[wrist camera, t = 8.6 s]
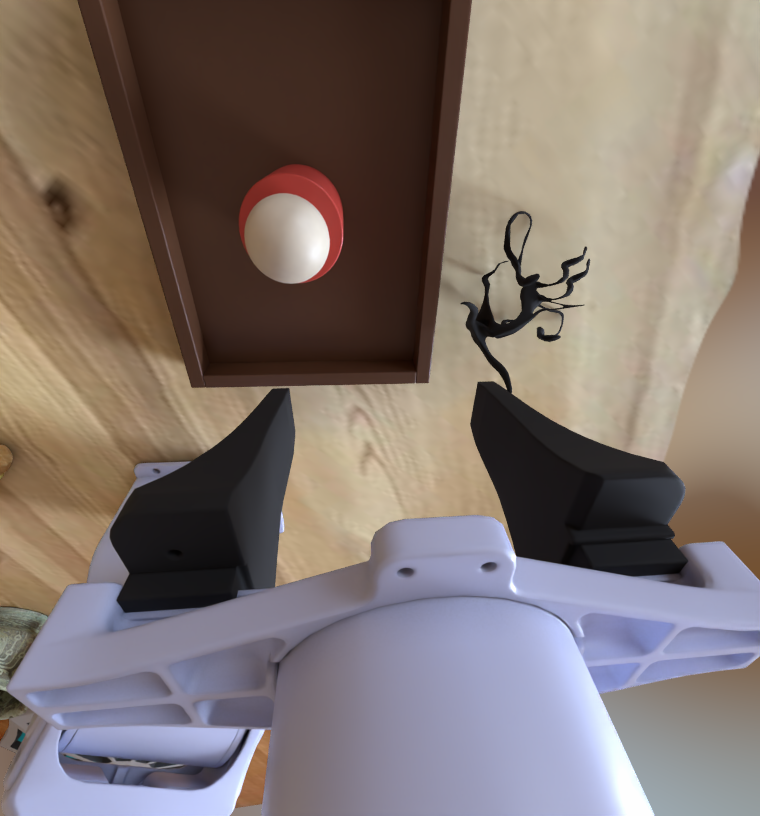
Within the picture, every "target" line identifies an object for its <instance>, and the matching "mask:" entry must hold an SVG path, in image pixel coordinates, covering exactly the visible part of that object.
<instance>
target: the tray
mask: <svg viewBox="0 0 760 816" xmlns="http://www.w3.org/2000/svg"><path fill="white" fill-rule="evenodd" d="M78 4H79V7H80V11H81V14H82V17H83V21H84V24H85V28H86V31H87V34H88V38H89V41H90V45H91V48H92V51H93V55H94V58H95V61H96V65H97V68H98V72H99V75H100V78H101V82H102V85H103V89H104V92H105V95H106V99H107V102H108V105H109V109H110V112H111V116H112V119H113V122H114V126H115V129H116V133H117V136H118V139H119V143H120V146H121V150H122V153H123V156H124V160H125V163H126V166H127V170H128V173H129V177H130V180H131V183H132V187H133V190H134V194H135V197H136V200H137V204H138V207H139V210H140V214H141V217H142V221H143V224H144V227H145V231H146V234H147V238H148V241H149V244H150V248H151V251H152V254H153V258H154V261H155V265H156V268H157V271H158V275H159V278H160V282H161V285H162V288H163V292H164V295H165V299H166V302H167V305H168V309H169V312H170V315H171V319H172V322H173V326H174V329H175V332H176V336H177V339H178V343H179V346H180V349H181V353H182V356H183V359H184V363H185V366H186V370H187V373H188V376H189V380H190V383H191V387H193V388H198V387H257V386H306V385H355V384H405V383H415V382H416V383H429V377H430V368H431V359H432V350H433V341H434V333H435V324H436V315H437V306H438V297H439V288H440V279H441V271H442V262H443V253H444V244H445V235H446V226H447V217H448V208H449V200H450V191H451V182H452V173H453V164H454V155H455V146H456V137H457V129H458V120H459V111H460V102H461V93H462V84H463V75H464V66H465V58H466V49H467V40H468V31H469V22H470V13H471V4H472V0H78ZM291 164H301V165H306V166H310V167H312V168H315V169H316V170H318V171H320V172H321V173H322V174H324V175H325V176H326V177H327V178H328V179H329V180H330V181H331V182H332V184H333V185H334V187H335V188H336V190H337V192H338V194H339V196H340V199H341V203H342V207H343V244H342V248H341V252H340V254H339V257H338V259H337V260H336V262H335V264H334V265H333V266H332V268H331V269H330V270H329V271H328V272H327V273H325V274H324V275H323V276H321V277H319V278H317V279H315V280H313V281H310V282H305V283H293V284H290V283H282V282H278V281H275V280H273V279H271V278H269V277H268V276H266V275H265V274H263V273H262V272H261V271H260V270H259V269H258V268H257V267H256V266H255V264H254V263H253V261H252V260H251V258H250V256H249V255H248V253H247V252H246V250H245V248H244V245H243V243H242V240H241V236H240V232H239V213H240V208H241V205H242V202H243V200H244V198H245V196H246V194H247V193H248V191H249V190H250V189H251V188H252V186H253V185H254V184H256V183H257V182H258V181H259V180H261V179H263V178H264V177H266V176H267V175H269V174H271V173H272V172H274V171H275V170H277V169H279V168H281V167H283V166H286V165H291Z"/></svg>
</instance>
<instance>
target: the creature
mask: <svg viewBox="0 0 760 816" xmlns="http://www.w3.org/2000/svg"><path fill="white" fill-rule="evenodd" d="M518 214H526V215H527V216H529V218H530V228H529V230H528V232H527V234H526V236H525V239H524V242H523V246H522V251H521V254H520V256H519V259H518V260H517V258H516V257H515V255H514V254H513V252H512V250H511V247H510V226H511V224H512V222H513V221H514V220H515V218H516V217H517V216H518ZM531 226H532V219H531V216H530V214H528V213H527V212H524V211H520V212H517V213H515V214H514V215H513V216H512V217H511V218H510V220H509V221H508V224H507V226H506V232H505V240H504V250H505V253H506V255H507V257H508V259H509V260H510V261H511V264H512V266H513V267H514V269H515V271H516V280H517V282H518V284H519V285H520V286H522V287H523V288H522V289H521V294H520V299H521V305H522V312H521V313H520V315H519V316H518V317H517V318H516V319H515V320H503V321H502V322H501V324H498V323H496V322H495V321H494V317H493V315H492V312H491V309H490V305H489V297H488V293H489V287H490V283H489V281H488V278H489V276H491V275H492V274H493V273H495V271H496V269H497V268H498V266H499V265H500V264H501V263H499V264H498V265H497V267H496V268H495V270H493V271H492V272H490V273H488V274H486V275H484V276H483V277H482V282H483V284H484V286H485V296H484V301H483V304H482V306H481V309H480V311H479V313H478V308H477V307H476V306H475V305H474V304H472V303H470V302H463V303H461V304H464V305H466V306H468V307H469V309H470V313H469V315H468V318H467V321H466V327H467V329H468V330H469V331H470V332H471V336H472V338H473V340H474V342H475V343H476V344H477V345H478V347H479V348H480V349H481V351H482V352H483V354H484V355H485V357H486V359H487V360H488V362H489V363H490V364H491V365H492V366H493V367H494V368H495V369H496V370H497V371H498V372H499V374H500V375H501V377H502V378H503V380H504V382H505V385H506V388H507V391H508V392H510V393H512V386H511V381H510V377H509V374H508V372H507V370H506V369H505V367H504V366H503V365H502V364H501V363H500V362H498V361H497V360H496V359H495V358H494V357H493V356H492V355H491V353H490V352H489V350H488V348H487V346H486V343H485V339H486V337H495V338H497V339H498V338H502V337H505V336H508V335H511V334H514V333H515V332H517V331H519V330H520V329H521V328H522V327H524V326H525V325H526V324H527V323H528V322H530V321H531V320H532V319H533V318H534V317H535V316H536V315H537V314H538V313H540V312H542V311H545V310H548V311H550V312H555V313H559V314H560V315H561V316H562V323H561V327H560V329H559V332H558V333H557V334H556V335H544V329H543V328H542V327H538V328H537V337H538V338H539V339H541V340H544V341H547V342H551V341H555V340H557V339H559V338H560V337H561V336H559V335H558V334H559V333H560V331H561V328H562V325H563V318H564V315H563V313H562V312H560V311H557V309H564V308H570V307H577V306H583V305H563V304H559V303H556V304H559V305H562V306H563V308H557V309H549V308H545V307H543V306H542V305H540V304H541V302H551V301H552V300H557V299H561V298H564V297H567V296H569V295H570V294H571V293H572V291H573V287H574V285H573V283H574V282H577V281H578V280H580V279H581V278H583V277H584V276H585V275H586V274H587V273H588V270H589V265H590V259H588V261H587V264H586V265H587V268H586V270H585V271H584V272H582V273H579V274H576V275H574V276H572V277H570V278H569V279H568V280H567V282H566V284H567V286H568V287H567V291H566V293H565V294H564V295H563V296H561V297H559V298H556V299H551V298H546V297H545V296H543V295H540V294H539V293H538V292H537V291H536V290H537V288H543V287H547V286H552V285H556V284H559V283H562V282H564V281H565V280H566V279H567V278H568V276H569V269H568V267H570V266H572V265H575V264H577V263H579V262H580V261H582V260H583V259H584V255H585V253H586V250H587V247H585V248H584V251H583V255H581V256H579V257H577V258H573V259H570V260H567V261H565V262H563V263H562V265H561V268H562V270H563V277H562V278H561V279H560V280H558V281H557V282H556V283H552V284H549V285H548V284H543V283H540V282H536V281H537V280H538V279H539V277H540V276H539V274H534V275H531V276H528V277H527V278H524V277H522V276H521V267H520V266H521V260H522V254H523V249H524V246H525V243H526V240H527V237H528V234H529V232H530V229H531ZM504 262H508V261H504ZM504 262H502V263H504ZM551 303H555V302H551ZM537 306H539V307H541V308H543V309H541V310H538V311H537V312H535V313H534V314H533V311H534V309H535V308H536V307H537ZM507 322H510V323H507Z"/></svg>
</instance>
